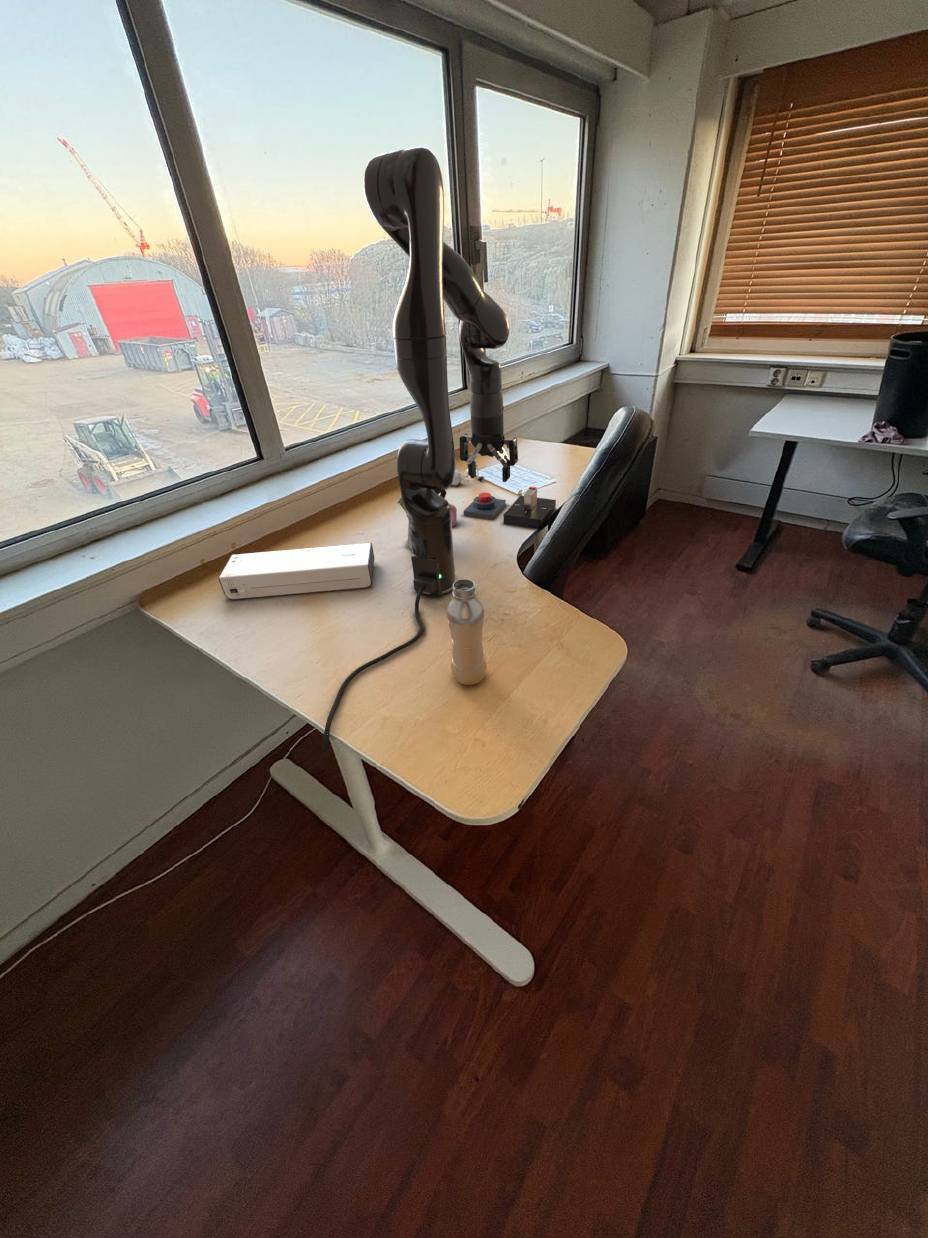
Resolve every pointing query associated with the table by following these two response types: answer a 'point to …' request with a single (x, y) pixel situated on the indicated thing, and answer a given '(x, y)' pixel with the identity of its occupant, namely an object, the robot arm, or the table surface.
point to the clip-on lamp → (459, 477)
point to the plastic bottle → (466, 633)
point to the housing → (485, 508)
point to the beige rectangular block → (530, 498)
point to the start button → (484, 497)
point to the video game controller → (453, 514)
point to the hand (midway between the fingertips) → (489, 479)
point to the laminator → (298, 571)
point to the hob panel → (530, 513)
